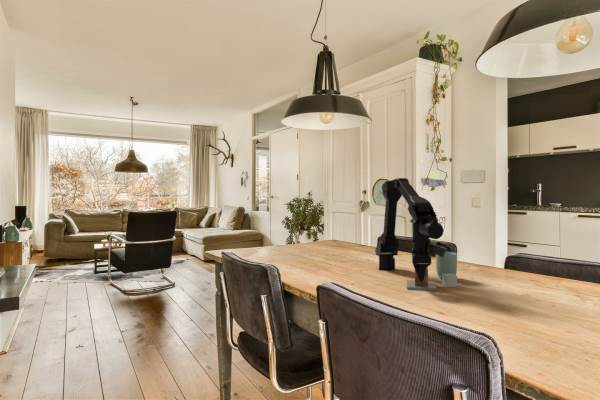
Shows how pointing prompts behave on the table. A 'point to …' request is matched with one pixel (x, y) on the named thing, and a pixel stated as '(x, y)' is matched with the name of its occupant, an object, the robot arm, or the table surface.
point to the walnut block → (425, 281)
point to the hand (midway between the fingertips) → (421, 278)
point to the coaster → (412, 286)
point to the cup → (446, 264)
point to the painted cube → (449, 280)
